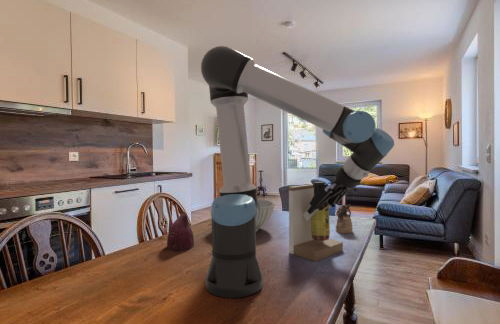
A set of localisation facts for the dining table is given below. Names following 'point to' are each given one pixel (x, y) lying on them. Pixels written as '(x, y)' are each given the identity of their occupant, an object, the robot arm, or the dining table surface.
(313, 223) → the sauce bottle
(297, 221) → the upright board stand
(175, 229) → the vegetable
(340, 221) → the figurine
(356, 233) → the dining table surface
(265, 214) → the decorative bowl
